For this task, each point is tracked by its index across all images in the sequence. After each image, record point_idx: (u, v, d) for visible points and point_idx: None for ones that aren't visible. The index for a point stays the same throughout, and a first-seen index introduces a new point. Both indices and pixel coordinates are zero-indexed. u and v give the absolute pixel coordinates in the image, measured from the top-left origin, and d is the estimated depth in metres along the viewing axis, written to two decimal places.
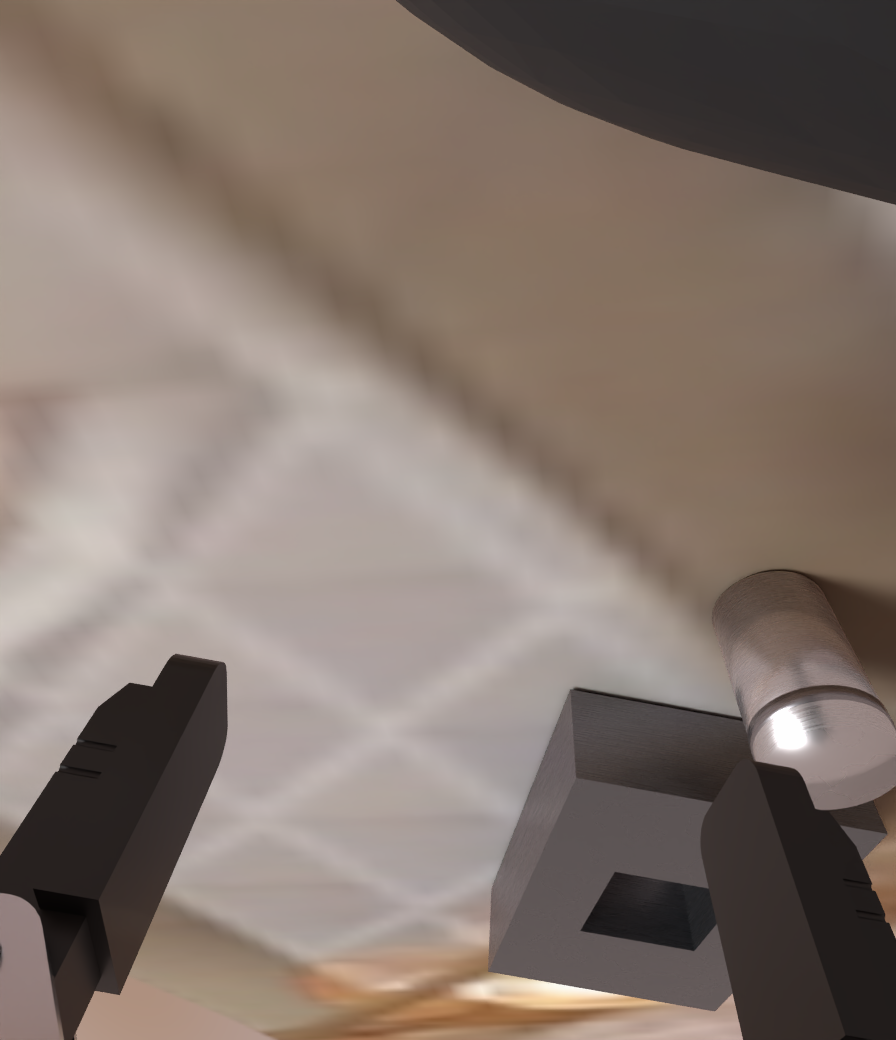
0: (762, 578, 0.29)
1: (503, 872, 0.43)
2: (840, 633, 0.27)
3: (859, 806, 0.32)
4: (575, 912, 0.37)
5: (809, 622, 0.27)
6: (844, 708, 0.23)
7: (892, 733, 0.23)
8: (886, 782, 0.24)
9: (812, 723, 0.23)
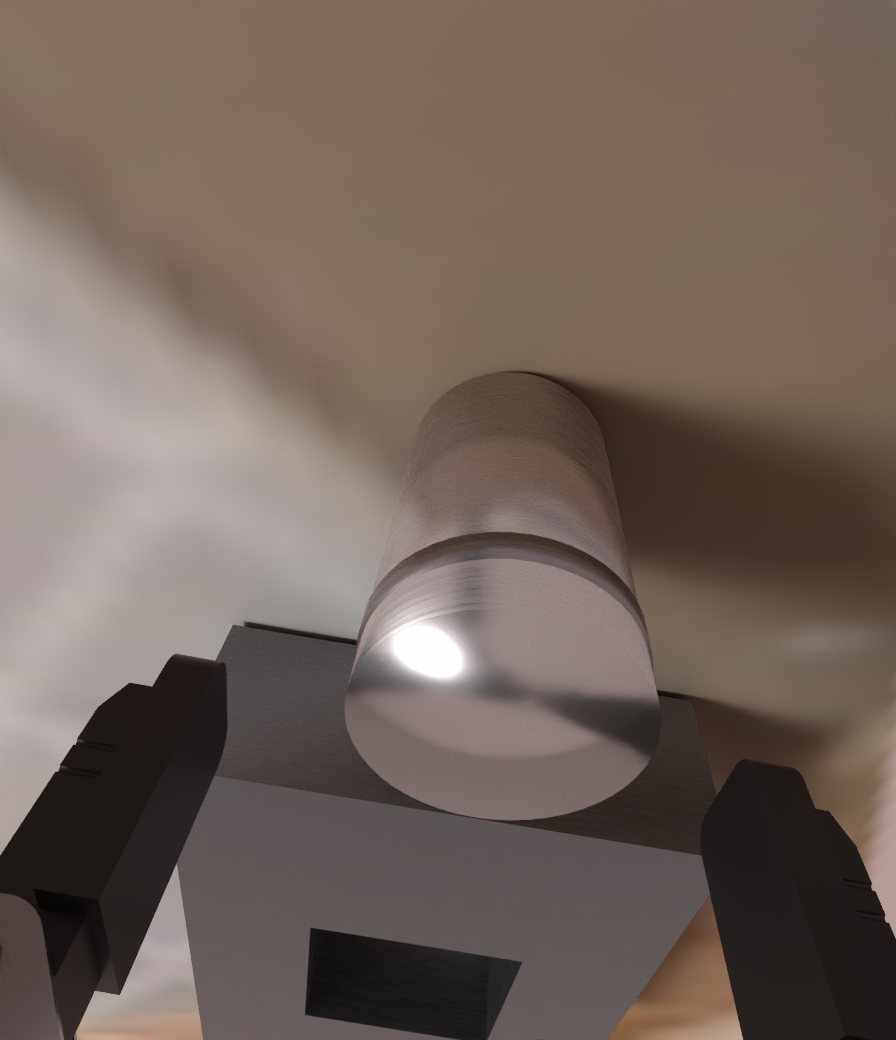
0: (471, 385, 0.16)
1: None
2: (580, 459, 0.13)
3: (691, 811, 0.18)
4: (283, 988, 0.23)
5: (515, 435, 0.13)
6: (499, 574, 0.10)
7: (606, 630, 0.09)
8: (626, 754, 0.11)
9: (417, 611, 0.10)
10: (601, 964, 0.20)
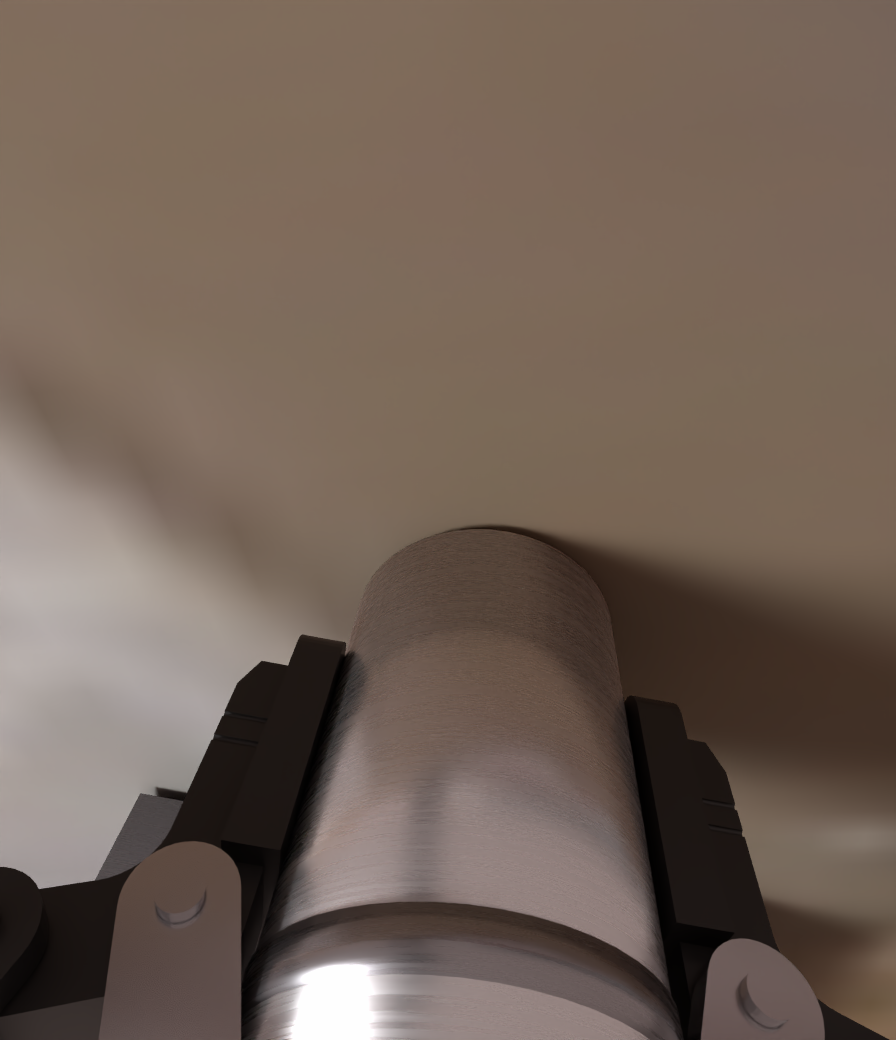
0: (432, 547, 0.12)
1: None
2: (579, 693, 0.09)
3: None
4: None
5: (485, 660, 0.09)
6: (440, 1022, 0.06)
7: None
8: None
9: None
10: None
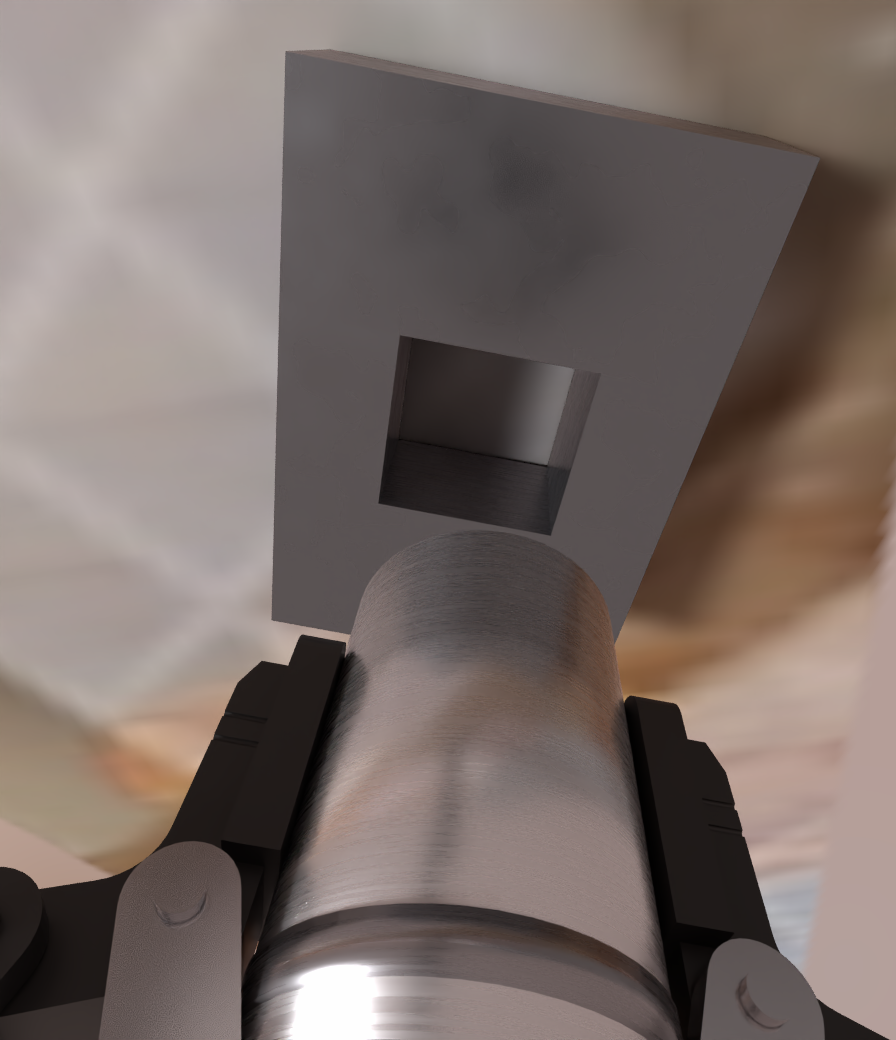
0: (432, 548, 0.12)
1: None
2: (579, 694, 0.09)
3: (776, 146, 0.19)
4: (362, 455, 0.24)
5: (486, 661, 0.09)
6: (439, 1026, 0.06)
7: None
8: None
9: None
10: (677, 368, 0.22)
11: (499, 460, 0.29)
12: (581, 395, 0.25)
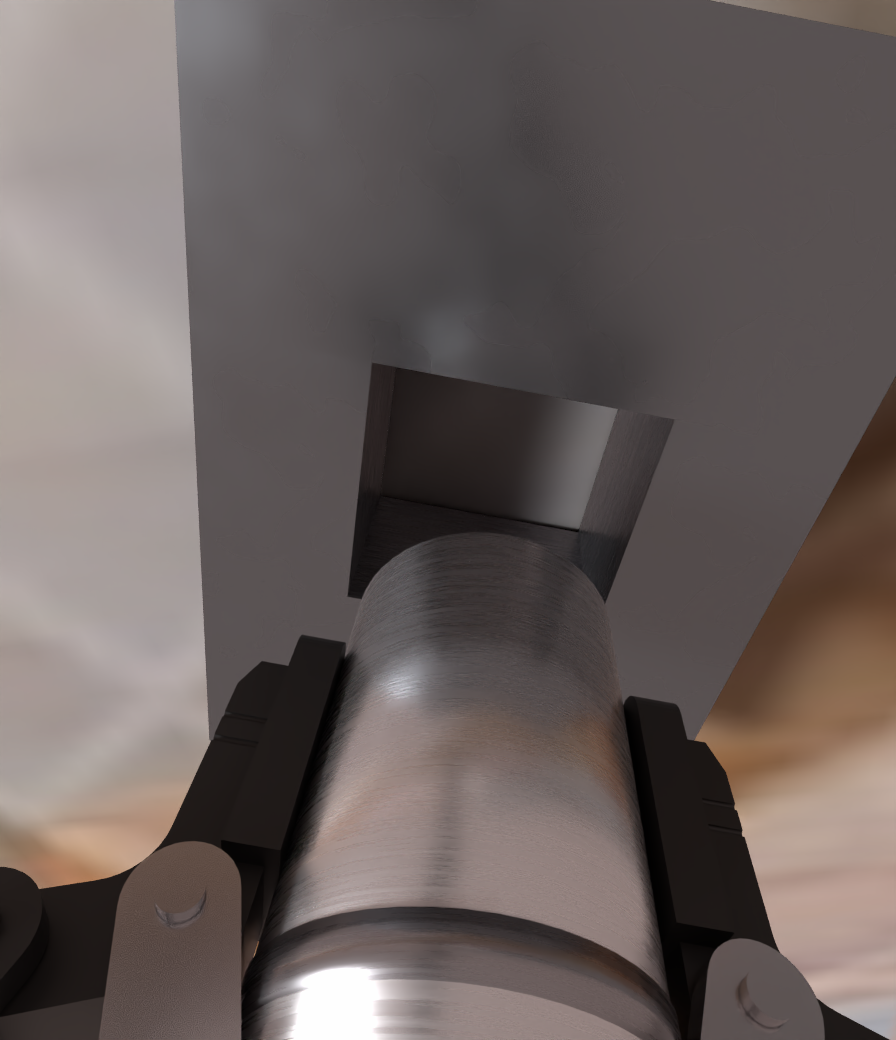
0: (432, 550, 0.12)
1: None
2: (578, 696, 0.09)
3: None
4: (322, 533, 0.17)
5: (484, 664, 0.09)
6: (439, 1029, 0.06)
7: None
8: None
9: None
10: (792, 412, 0.14)
11: (514, 523, 0.22)
12: (635, 445, 0.17)
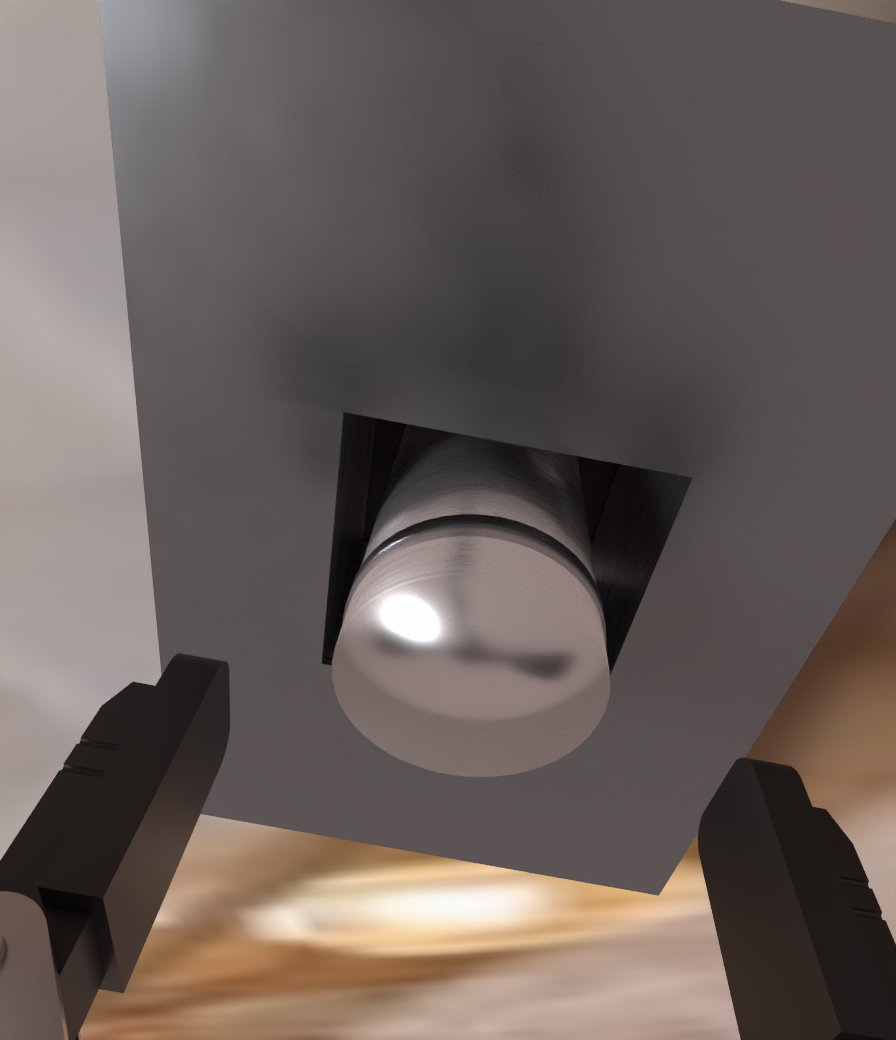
0: None
1: None
2: (549, 457, 0.15)
3: None
4: (292, 596, 0.15)
5: None
6: (469, 548, 0.11)
7: (561, 598, 0.11)
8: (580, 713, 0.12)
9: (397, 579, 0.11)
10: (827, 471, 0.12)
11: None
12: (644, 496, 0.15)
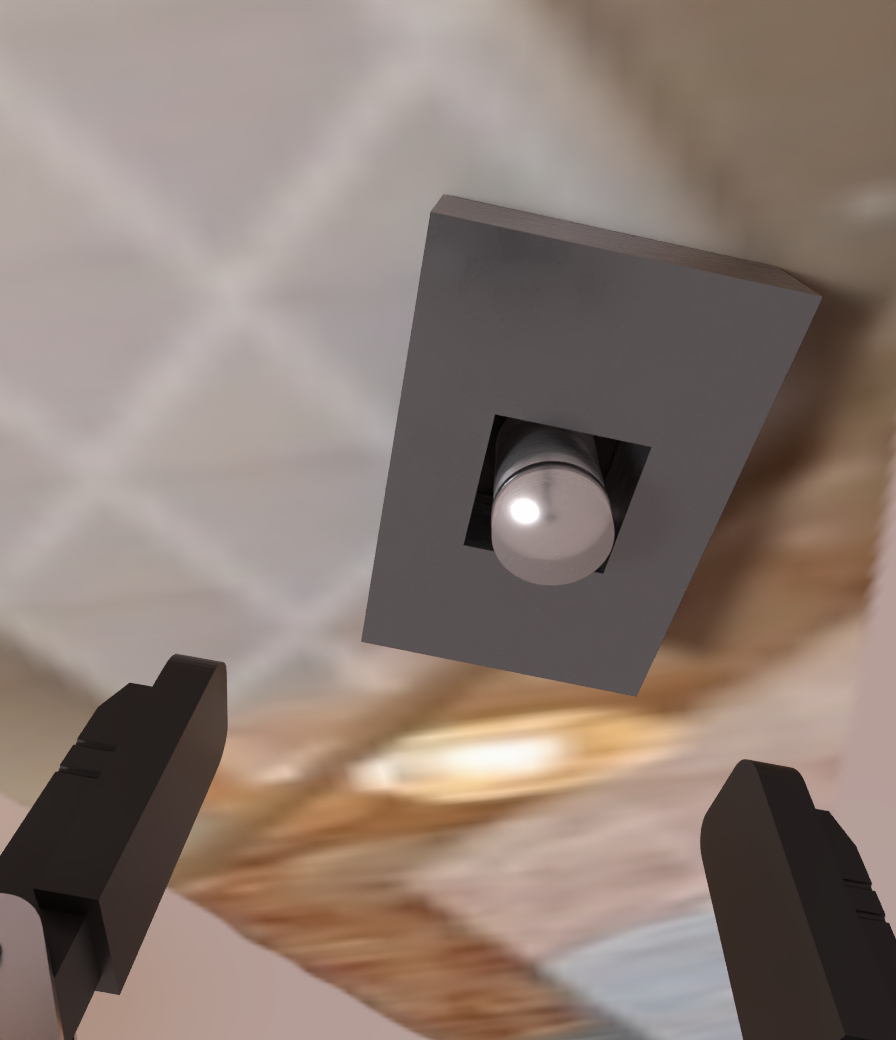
0: None
1: None
2: (583, 440, 0.30)
3: (789, 284, 0.25)
4: (454, 506, 0.30)
5: (555, 428, 0.30)
6: (556, 473, 0.26)
7: (595, 493, 0.26)
8: (601, 549, 0.27)
9: (526, 485, 0.26)
10: (711, 444, 0.28)
11: None
12: (630, 461, 0.31)
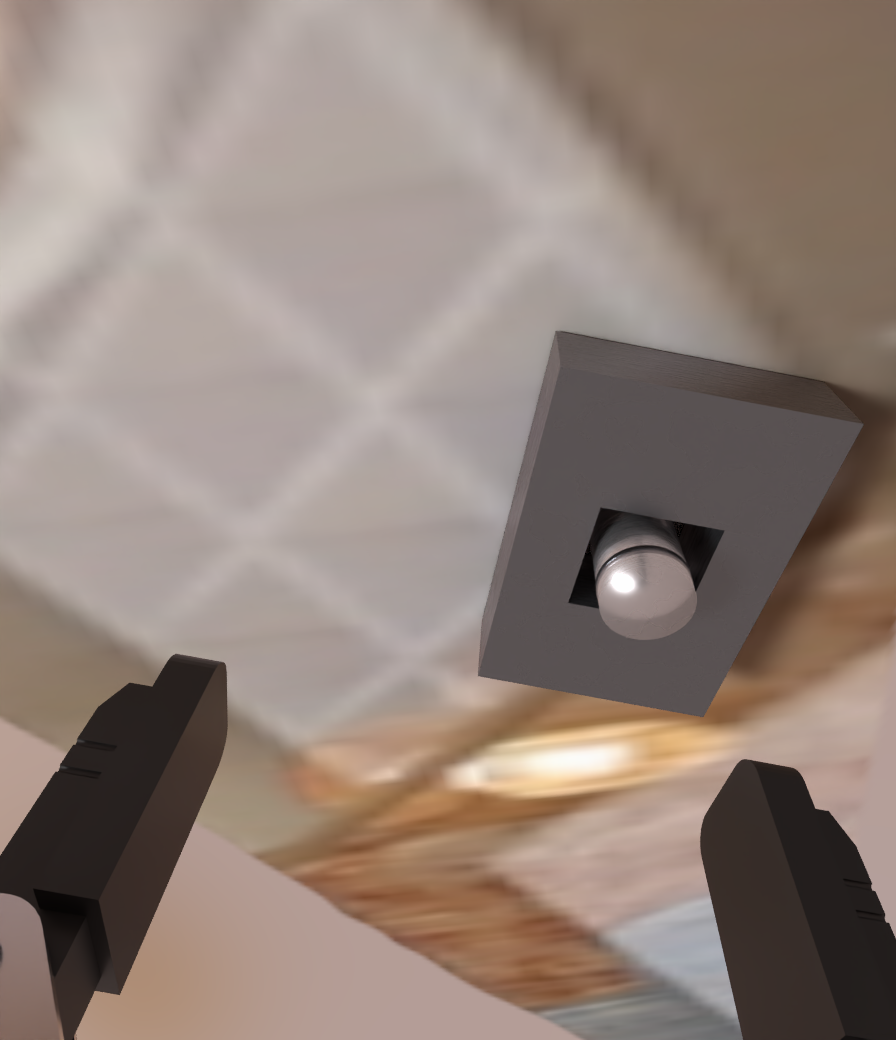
0: None
1: (493, 584, 0.44)
2: (666, 520, 0.37)
3: (836, 410, 0.33)
4: (563, 574, 0.38)
5: None
6: (651, 557, 0.34)
7: (682, 573, 0.34)
8: (685, 613, 0.35)
9: (628, 567, 0.34)
10: (772, 528, 0.35)
11: None
12: (703, 534, 0.38)
